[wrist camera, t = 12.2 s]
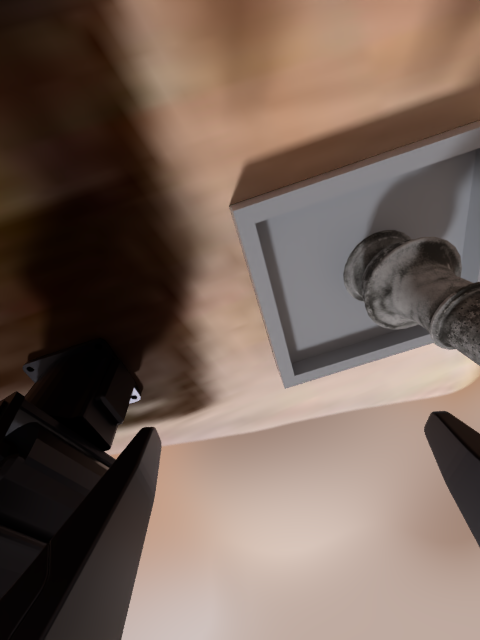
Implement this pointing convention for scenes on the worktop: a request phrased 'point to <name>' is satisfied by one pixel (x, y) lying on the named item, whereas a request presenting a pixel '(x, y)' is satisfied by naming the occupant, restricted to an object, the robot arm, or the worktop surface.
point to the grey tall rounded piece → (416, 288)
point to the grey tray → (343, 236)
